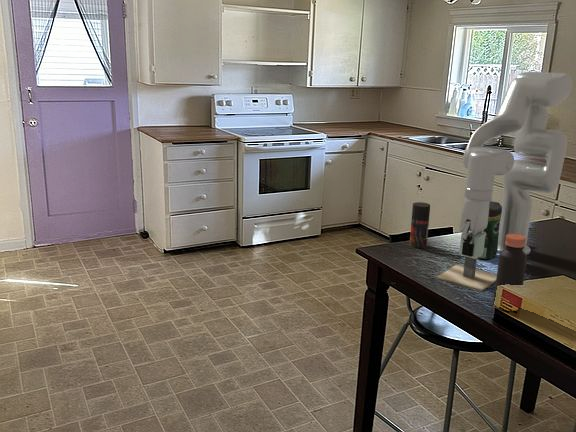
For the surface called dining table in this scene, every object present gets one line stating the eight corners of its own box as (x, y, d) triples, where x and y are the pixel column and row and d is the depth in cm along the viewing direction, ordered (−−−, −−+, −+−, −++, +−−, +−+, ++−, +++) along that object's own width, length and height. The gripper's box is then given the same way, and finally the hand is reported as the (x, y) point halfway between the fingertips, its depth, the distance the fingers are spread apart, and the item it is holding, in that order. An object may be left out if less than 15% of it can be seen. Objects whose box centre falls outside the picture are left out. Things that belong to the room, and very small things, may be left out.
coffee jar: (477, 249, 194) (483, 197, 189) (499, 254, 189) (506, 202, 184) (465, 256, 188) (470, 203, 182) (487, 262, 182) (494, 207, 177)
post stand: (457, 265, 179) (459, 245, 177) (500, 277, 170) (503, 256, 168) (436, 278, 169) (438, 256, 167) (481, 291, 160) (484, 268, 158)
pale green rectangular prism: (466, 250, 171) (468, 230, 169) (483, 254, 167) (485, 233, 166) (459, 254, 167) (461, 233, 165) (475, 259, 164) (478, 237, 162)
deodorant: (426, 248, 194) (430, 207, 190) (409, 247, 195) (412, 206, 191) (426, 243, 200) (430, 202, 195) (409, 241, 201) (412, 201, 196)
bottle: (490, 308, 150) (499, 237, 144) (495, 299, 155) (504, 231, 149) (517, 314, 146) (527, 242, 140) (521, 305, 152) (531, 235, 146)
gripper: (478, 187, 170) (471, 243, 176) (453, 197, 158) (446, 257, 163) (502, 191, 166) (494, 249, 171) (478, 201, 153) (471, 263, 158)
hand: (471, 252), depth 167 cm, fingers closed on pale green rectangular prism, 5 cm apart
